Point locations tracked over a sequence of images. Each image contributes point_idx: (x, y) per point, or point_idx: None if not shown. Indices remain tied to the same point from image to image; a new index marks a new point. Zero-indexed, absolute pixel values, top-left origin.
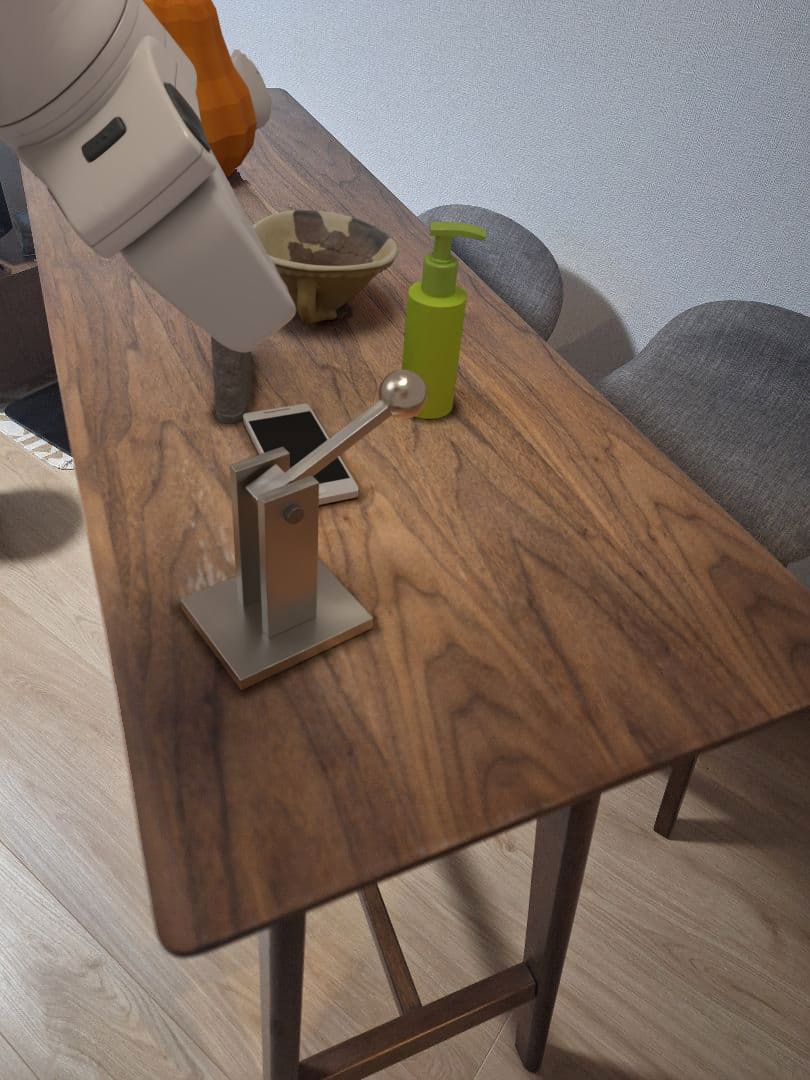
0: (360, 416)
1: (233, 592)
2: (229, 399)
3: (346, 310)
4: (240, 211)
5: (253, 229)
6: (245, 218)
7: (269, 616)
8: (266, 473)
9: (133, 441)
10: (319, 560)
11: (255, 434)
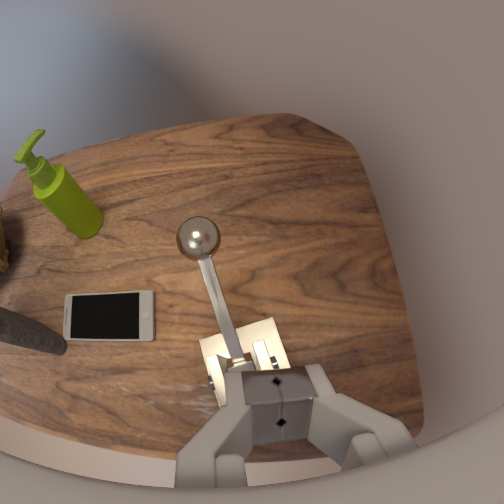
0: (207, 283)
1: None
2: (55, 345)
3: (6, 242)
4: (450, 496)
5: (469, 452)
6: (459, 478)
7: None
8: None
9: (69, 410)
10: (213, 336)
11: (82, 338)
